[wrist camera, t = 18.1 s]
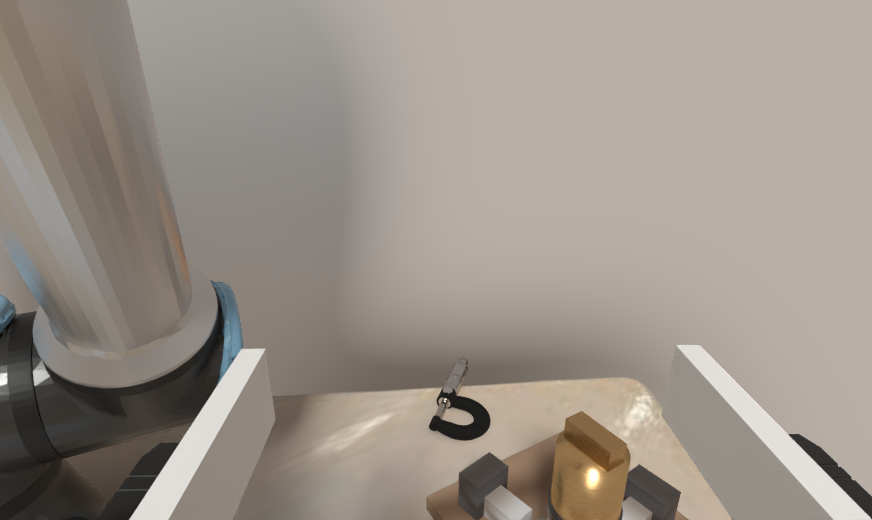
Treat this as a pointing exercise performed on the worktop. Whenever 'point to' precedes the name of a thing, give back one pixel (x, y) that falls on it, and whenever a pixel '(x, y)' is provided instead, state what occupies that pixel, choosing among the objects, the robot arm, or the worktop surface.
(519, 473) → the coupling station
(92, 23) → the robot arm
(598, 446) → the coupling
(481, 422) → the micrometer
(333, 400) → the worktop surface
